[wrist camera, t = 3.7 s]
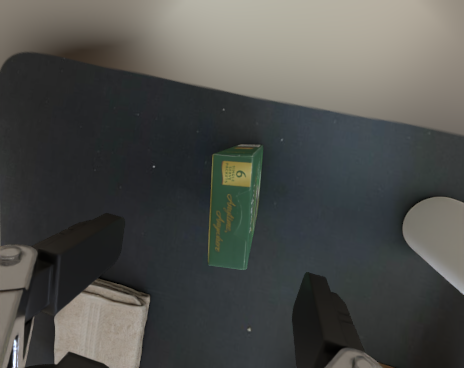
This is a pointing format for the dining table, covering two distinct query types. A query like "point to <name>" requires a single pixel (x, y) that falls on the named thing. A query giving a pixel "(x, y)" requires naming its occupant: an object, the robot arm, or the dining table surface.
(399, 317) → the dining table surface
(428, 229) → the can
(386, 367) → the shelf
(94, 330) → the washcloth
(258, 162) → the coffee box
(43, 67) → the dining table surface
